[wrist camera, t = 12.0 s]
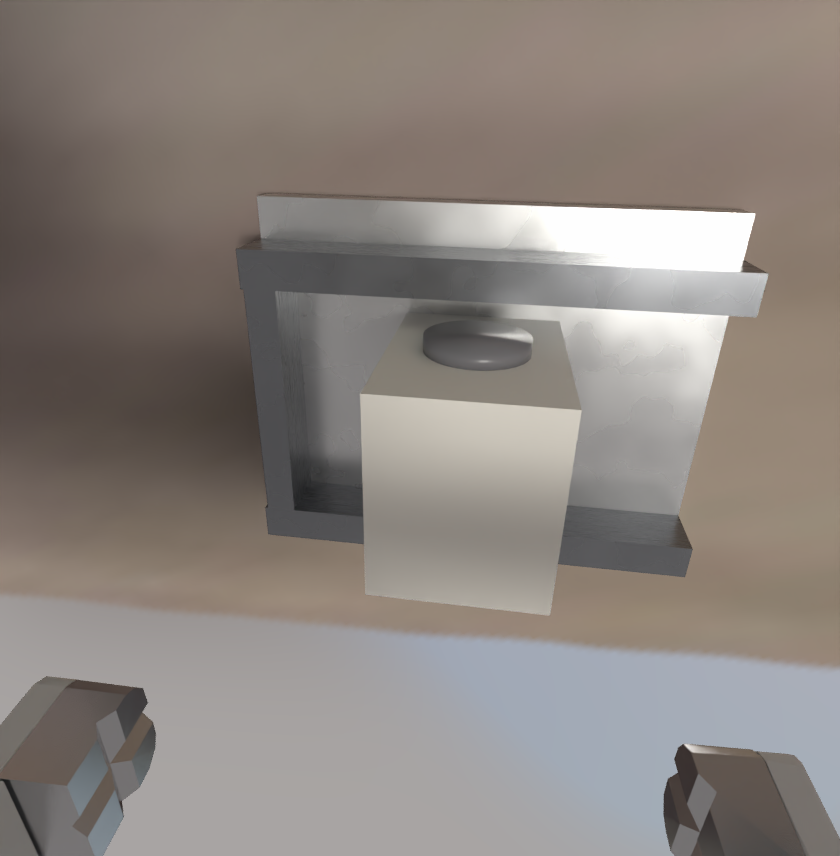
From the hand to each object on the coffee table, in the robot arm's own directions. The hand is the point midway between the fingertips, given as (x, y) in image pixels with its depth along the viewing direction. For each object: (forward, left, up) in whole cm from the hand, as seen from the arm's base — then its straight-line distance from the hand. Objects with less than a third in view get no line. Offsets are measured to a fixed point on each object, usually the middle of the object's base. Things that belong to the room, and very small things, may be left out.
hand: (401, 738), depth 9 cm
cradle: (+1, 0, -14) cm, 14 cm away
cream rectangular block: (0, 0, -13) cm, 13 cm away
